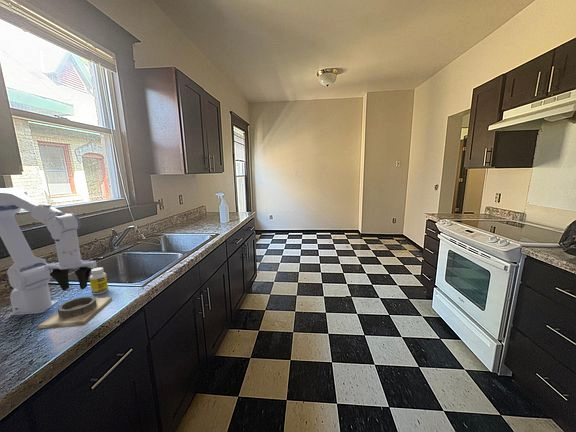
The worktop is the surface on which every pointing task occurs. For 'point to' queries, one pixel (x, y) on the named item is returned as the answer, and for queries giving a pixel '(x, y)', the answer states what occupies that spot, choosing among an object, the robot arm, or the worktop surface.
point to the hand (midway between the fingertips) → (75, 288)
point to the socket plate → (76, 319)
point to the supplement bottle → (98, 281)
